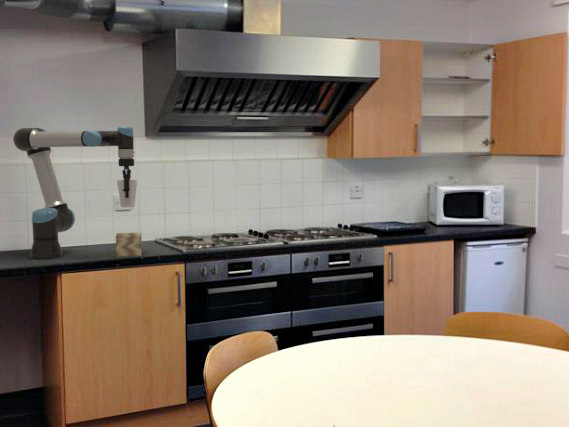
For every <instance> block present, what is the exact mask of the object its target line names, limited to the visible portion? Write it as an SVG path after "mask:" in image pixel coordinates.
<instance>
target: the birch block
mask: <svg viewBox="0 0 569 427" xmlns="http://www.w3.org/2000/svg"><path fill="white" fill-rule="evenodd" d="M142 242H143V239H142V232H120V233H119V232H117V233H116V235H115V249H116V250H115V251H116V253H115V255H116V257H117V258H118V257H120V258H121V257H139V256H140V257H141V256H142V254H143V246H142V245H143V244H142Z"/></svg>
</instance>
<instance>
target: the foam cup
mask: <svg viewBox="0 0 569 427" xmlns="http://www.w3.org/2000/svg"><path fill="white" fill-rule="evenodd" d="M116 182H117V183H116V184H117V185H116V186H117V189H118V195H119V201H120V206H121V208H134V207H135V206H136V205H135V204H136V194H137V193H136V192H137V185H138V180H137V179H130V181H129V188H130V205H125V204H124V191H123V190H124V179H121V180H117V181H116Z"/></svg>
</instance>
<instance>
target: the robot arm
mask: <svg viewBox="0 0 569 427" xmlns="http://www.w3.org/2000/svg"><path fill="white" fill-rule="evenodd" d="M134 137H135V136H134V129H133V127H132V126H118V127H117V130H92V129H91V130H65V131H64V130H62V131H59V130H58V131H57V130H56V131H55V130H54V131H50V130H49V131H48V130H46V129H43V128H40V127H22V128H20V129H18V130H16V131H15V133H14V135H13V141H12V142H13V144H14V146H15V147H16V148H17V149H18V150H20V151H22V152H26V154H27V158H29V159H30V160H32V163H33V167H34V171H35V174H36V177H37V180H38V184H39V187H40V191H41V193H42V197H43V200H44V203H45V206H44V207H43V208H38V209H36V210H33V211H32V214H31V216H32V217H31V222H32V245H31V249H30V251H29V252H30V253H29V258H30V259H36V260H37V259H39V260H44V259H45V260H47V259H57V258H60V257H63V248H62V247H61V244H60V241H59V233H63V232H66V231H68V230H70V229H72V228H73V226H74V224H75V221H76V216H75V214H74V212H73V210H72V209H70V208H69V206H68V203H67V202H66V201H64V200H63V196H62V194H61V190H60V186H59V183H58V180H57V177H56V172H55V170H54V166H53V164H52V160H51V157H50V155H51V153H52V149H51V148H76V147H81V148H83V147H85V148H87V147H89V148H90V147H91V148H95V147H101V148H102V147H117V155H118V166H119V167H123V169H122V172H121V173H122V177H123V178H122V180H124V190H123V191H124V204H125V205H130V188H129V181H130V180H131V177H132V176H131V174H132V170H131V169H130V167H134V166H135V159H134V157H135V153H136V151H134V146H135V145H134Z"/></svg>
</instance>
